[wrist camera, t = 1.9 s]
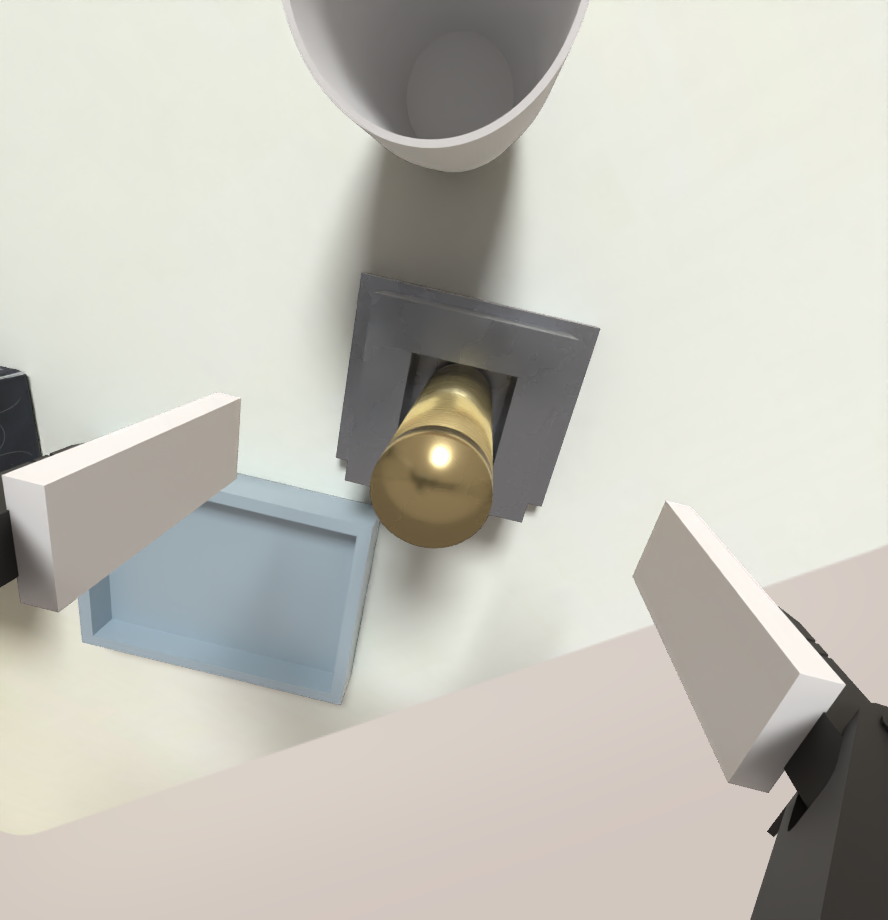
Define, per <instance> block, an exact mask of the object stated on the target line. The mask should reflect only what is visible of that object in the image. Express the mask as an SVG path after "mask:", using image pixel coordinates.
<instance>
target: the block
mask: <svg viewBox="0 0 888 920" xmlns="http://www.w3.org/2000/svg"><path fill="white" fill-rule="evenodd" d="M599 331H600V328H598V327H595V326H591V325H586V324H582V323H578V322H574V321H569V320H565V319H561V318H556V317H552V316H548V315H544V314H539V313H535V312H531V311H527V310H522V309H518V308H514V307H509V306H505V305H501V304H497V303H492V302H488V301H484V300H480V299H475V298H471V297H467V296H462V295H458V294H454V293H450V292H445V291H441V290H437V289H432V288H428V287H424V286H420V285H415V284H411V283H407V282H403V281H398V280H394V279H390V278H385V277H381V276H377V275H373V274H368V273H362V274H361V281H360V289H359V296H358V303H357V310H356V317H355V324H354V332H353V339H352V346H351V353H350V360H349V368H348V375H347V382H346V389H345V396H344V403H343V411H342V418H341V425H340V432H339V439H338V447H337V454H336V458H339V459H344V460H348V462H347V469H346V476H345V480H346V481H350V482H354V483H358V484H362V485H367V486H370V480H371V476H372V472H373V470H374V468H375V465H376V464H377V462H378V460H379V459H380V457H381V456H382V454H383V452H384V451H385V449H386V448H387V446H388V444H389V443H390V441H391V440H392V438H393V436H394V435H395V433H396V432H397V430H398V429H399V427H400V425H401V424H402V422H403V421H404V419H405V417H406V416H407V414H408V413H409V411H410V409H411V408H412V406H413V405H414V403H415V401H416V400H417V398H418V397H419V395H420V393H421V392H422V390H423V389H424V387H425V385H426V384H427V382H428V381H429V379H430V378H431V376H432V375H433V374H434V373H435V372H436V371H438V370H439V369H441V368H443V367H445V366H447V365H451V364H464V365H468V366H471V367H473V368H475V369H477V370H478V371H480V372H481V373H482V374H483V375H484V376H485V378H486V379H487V381H488V383H489V385H490V387H491V391H492V441H493V500H492V506H491V510H490V513H489V515H492V516H496V517H501V518H505V519H509V520H513V521H517V522H522V520H523V517H524V514H525V511H526V508H527V504H533V505H537V506H542V503H543V500H544V497H545V494H546V491H547V488H548V485H549V482H550V479H551V476H552V473H553V470H554V467H555V464H556V461H557V458H558V455H559V452H560V449H561V446H562V443H563V440H564V437H565V434H566V431H567V428H568V425H569V422H570V419H571V416H572V413H573V410H574V407H575V404H576V401H577V398H578V395H579V392H580V389H581V386H582V383H583V380H584V377H585V374H586V371H587V367H588V364H589V361H590V358H591V355H592V352H593V349H594V346H595V343H596V340H597V337H598V334H599Z"/></svg>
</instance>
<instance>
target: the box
mask: <svg viewBox="0 0 888 920" xmlns="http://www.w3.org/2000/svg"><path fill="white" fill-rule="evenodd" d="M40 457H41V452H40V446H39V441H38V436H37V433H36V427H35V422H34V416H33V410H32V405H31V399H30V394H29V388H28V382H27V377H26V374H25V373H23V372H21V371H19V370H16V369H10V368H6V367H2V366H0V472H3V471H5V470H8V469H11V468H13V467H16V466H18V465H21V464H24V463H26V462H33V460H34V459H37V458H40Z"/></svg>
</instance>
